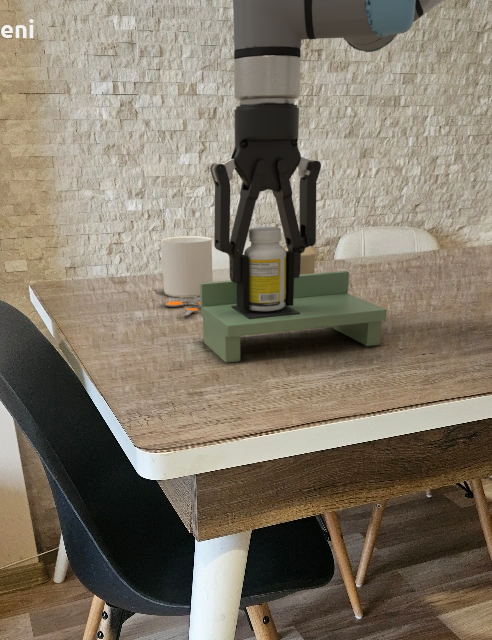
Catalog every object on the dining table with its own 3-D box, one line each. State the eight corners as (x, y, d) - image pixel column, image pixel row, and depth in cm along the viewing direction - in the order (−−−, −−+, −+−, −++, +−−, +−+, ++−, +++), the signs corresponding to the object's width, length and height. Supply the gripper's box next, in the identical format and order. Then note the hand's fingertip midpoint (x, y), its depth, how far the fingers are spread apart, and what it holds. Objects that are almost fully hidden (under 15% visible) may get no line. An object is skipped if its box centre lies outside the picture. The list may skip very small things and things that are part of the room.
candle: (281, 301, 115) (282, 240, 110) (313, 302, 114) (316, 240, 109) (278, 308, 110) (279, 245, 105) (312, 309, 109) (314, 245, 104)
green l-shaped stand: (383, 346, 89) (389, 285, 86) (228, 365, 83) (226, 300, 80) (342, 325, 99) (346, 270, 96) (201, 340, 94) (199, 282, 90)
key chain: (160, 301, 116) (159, 296, 115) (199, 297, 118) (199, 292, 118) (182, 317, 105) (181, 312, 105) (225, 313, 107) (225, 307, 107)
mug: (217, 295, 120) (216, 241, 116) (167, 299, 118) (164, 244, 114) (204, 283, 130) (203, 233, 126) (158, 286, 129) (155, 235, 124)
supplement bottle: (260, 301, 91) (261, 225, 86) (293, 306, 88) (295, 227, 83) (235, 308, 87) (235, 229, 83) (268, 314, 84) (269, 232, 80)
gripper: (325, 103, 82) (317, 294, 93) (181, 105, 77) (189, 305, 88) (353, 100, 76) (341, 305, 87) (198, 102, 71) (205, 318, 82)
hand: (264, 305), depth 87 cm, fingers closed on supplement bottle, 5 cm apart
